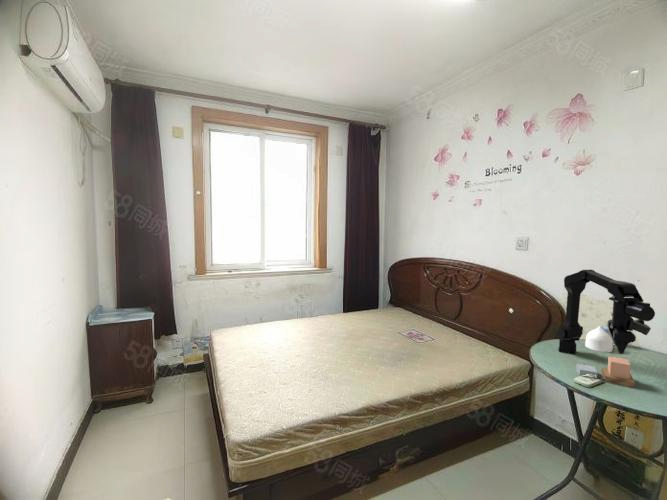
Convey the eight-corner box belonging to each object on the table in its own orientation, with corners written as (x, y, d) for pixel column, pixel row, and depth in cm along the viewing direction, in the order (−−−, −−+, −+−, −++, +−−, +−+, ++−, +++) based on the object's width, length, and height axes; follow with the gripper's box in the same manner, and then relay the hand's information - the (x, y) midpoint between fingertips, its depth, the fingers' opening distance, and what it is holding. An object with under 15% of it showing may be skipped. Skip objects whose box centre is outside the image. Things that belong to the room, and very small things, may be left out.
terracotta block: (610, 375, 129) (610, 361, 128) (607, 369, 134) (608, 356, 133) (629, 379, 125) (630, 365, 125) (626, 373, 130) (627, 359, 130)
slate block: (579, 376, 134) (579, 369, 134) (576, 370, 139) (576, 363, 139) (597, 379, 131) (597, 372, 131) (593, 372, 137) (593, 366, 136)
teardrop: (618, 352, 156) (620, 329, 155) (593, 351, 157) (595, 328, 156) (603, 343, 167) (604, 322, 165) (580, 343, 168) (581, 321, 167)
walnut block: (604, 382, 129) (605, 376, 128) (601, 374, 136) (602, 367, 136) (634, 389, 124) (634, 382, 123) (629, 379, 131) (630, 372, 131)
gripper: (655, 323, 116) (652, 363, 117) (643, 310, 131) (640, 346, 132) (615, 318, 122) (613, 356, 123) (608, 306, 137) (605, 340, 139)
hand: (619, 349), depth 129 cm, fingers open, 9 cm apart
